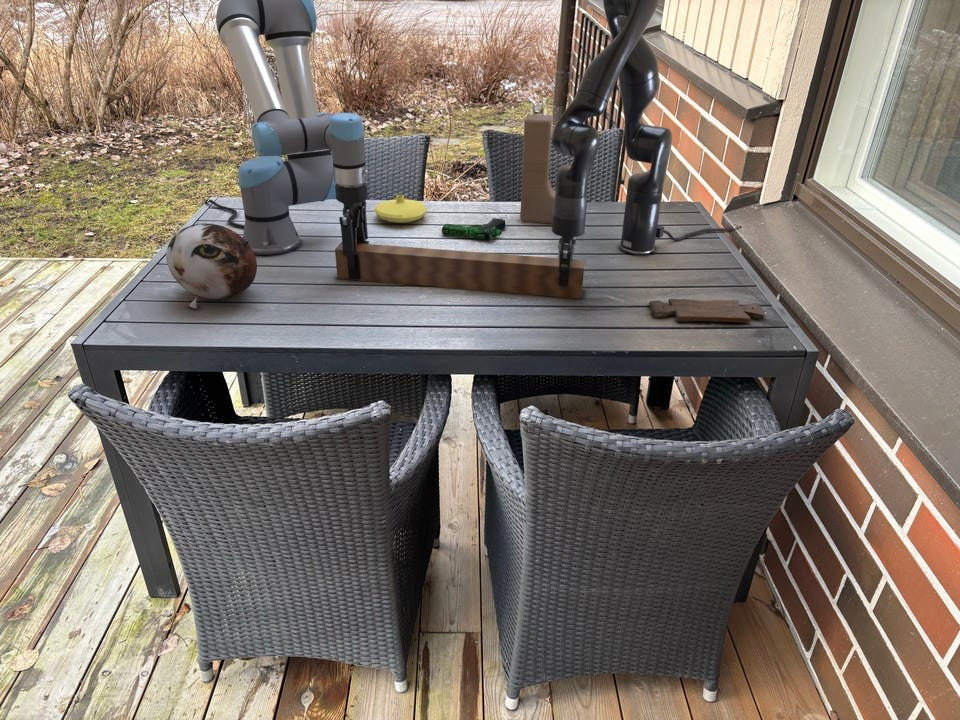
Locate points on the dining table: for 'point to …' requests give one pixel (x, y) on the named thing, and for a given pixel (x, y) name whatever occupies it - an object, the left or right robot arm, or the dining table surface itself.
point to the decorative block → (537, 171)
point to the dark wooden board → (706, 310)
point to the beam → (463, 270)
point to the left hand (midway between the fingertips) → (358, 274)
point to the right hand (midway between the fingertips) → (564, 280)
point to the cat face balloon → (211, 261)
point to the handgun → (476, 230)
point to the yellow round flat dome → (400, 210)
